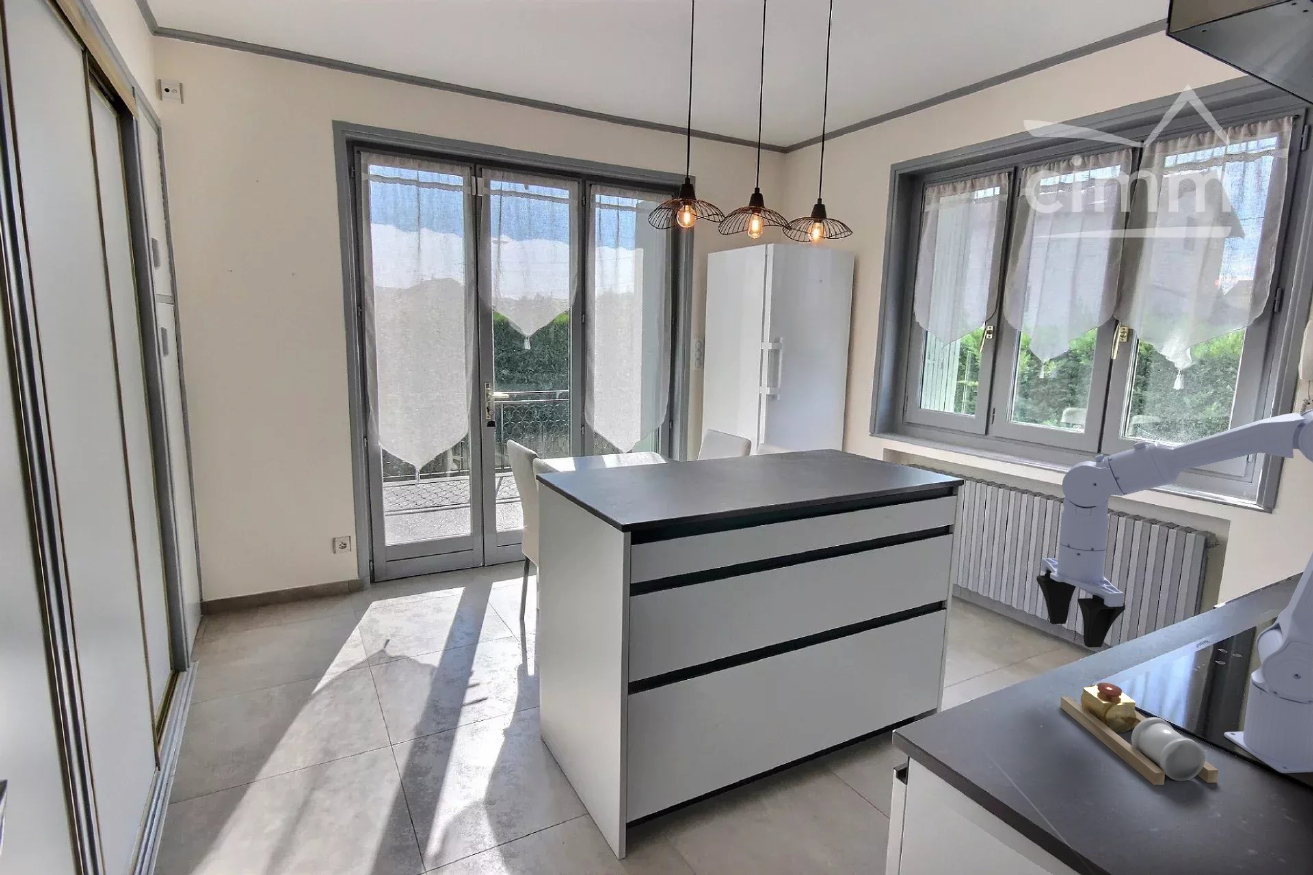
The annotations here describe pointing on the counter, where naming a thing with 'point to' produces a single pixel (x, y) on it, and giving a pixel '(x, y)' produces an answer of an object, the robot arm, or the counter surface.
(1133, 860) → the counter surface
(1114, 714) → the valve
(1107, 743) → the guide rails
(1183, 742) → the coupling
